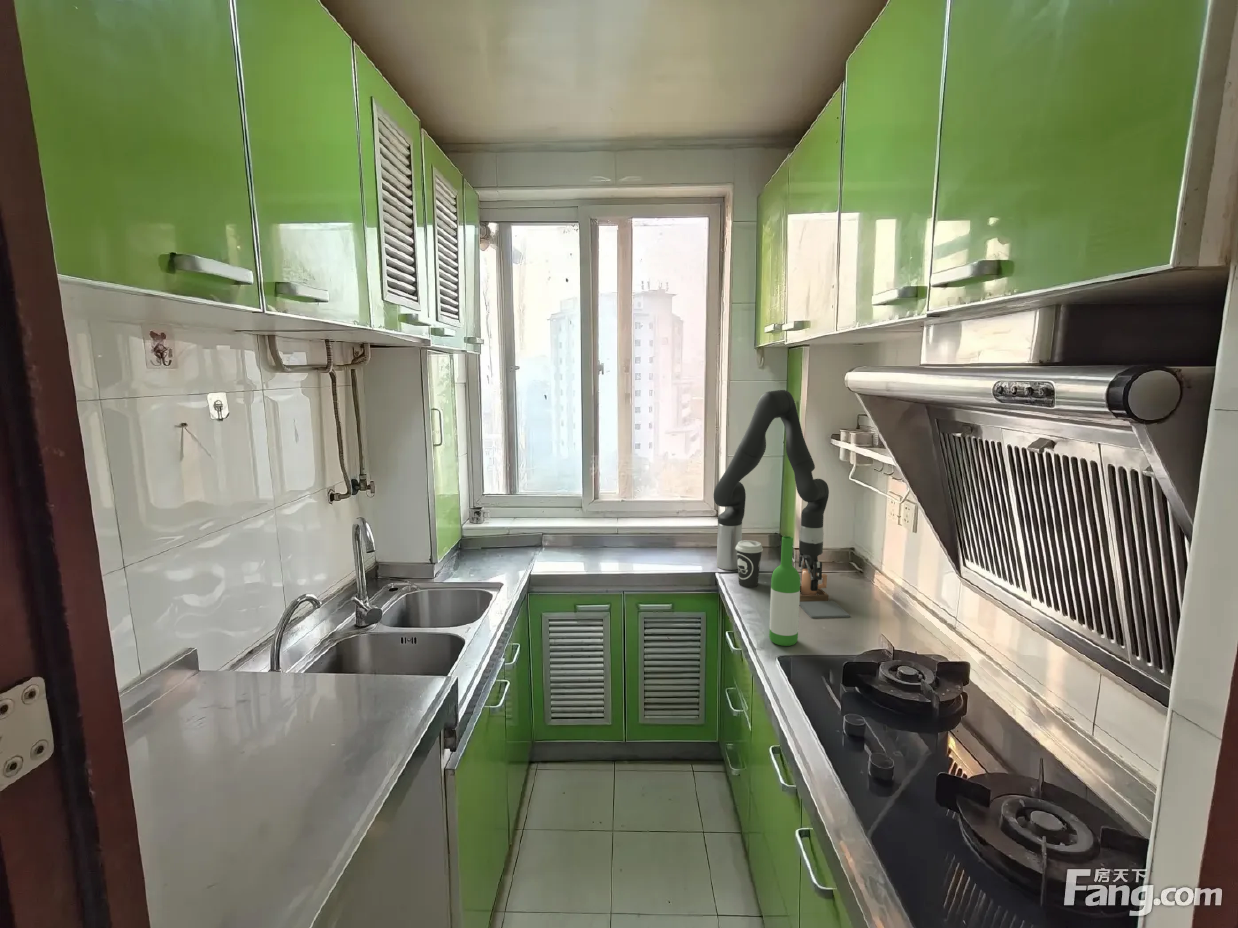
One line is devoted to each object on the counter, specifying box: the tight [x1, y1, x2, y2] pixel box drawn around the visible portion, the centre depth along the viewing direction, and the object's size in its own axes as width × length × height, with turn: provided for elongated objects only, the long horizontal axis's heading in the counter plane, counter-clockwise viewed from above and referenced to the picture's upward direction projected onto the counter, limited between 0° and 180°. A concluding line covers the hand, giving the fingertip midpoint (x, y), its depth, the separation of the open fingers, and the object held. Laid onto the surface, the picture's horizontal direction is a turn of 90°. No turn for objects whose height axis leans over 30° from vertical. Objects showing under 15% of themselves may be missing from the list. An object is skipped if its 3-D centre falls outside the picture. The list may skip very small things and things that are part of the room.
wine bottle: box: [768, 535, 801, 647], centre depth 168 cm, size 8×8×30 cm
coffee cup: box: [735, 539, 764, 588], centre depth 214 cm, size 10×10×15 cm
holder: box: [799, 585, 830, 602], centre depth 204 cm, size 10×10×2 cm
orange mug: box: [800, 568, 828, 595], centre depth 203 cm, size 8×5×9 cm, turn 94°
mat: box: [799, 600, 851, 619], centre depth 192 cm, size 12×12×1 cm
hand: (809, 585), depth 203 cm, fingers open, 8 cm apart
